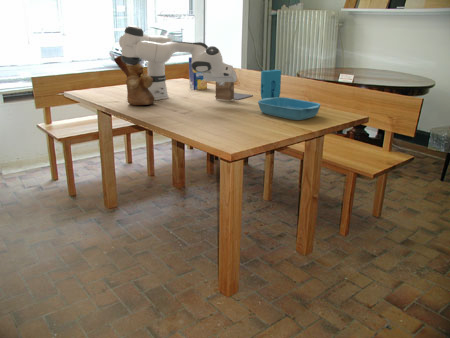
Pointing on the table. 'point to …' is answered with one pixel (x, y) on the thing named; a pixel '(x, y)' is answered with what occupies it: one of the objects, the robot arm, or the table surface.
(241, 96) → the felt mat
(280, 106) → the casserole dish
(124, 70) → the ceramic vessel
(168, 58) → the robot arm
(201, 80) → the cracker box
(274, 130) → the table surface
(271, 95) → the block
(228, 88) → the walnut block
